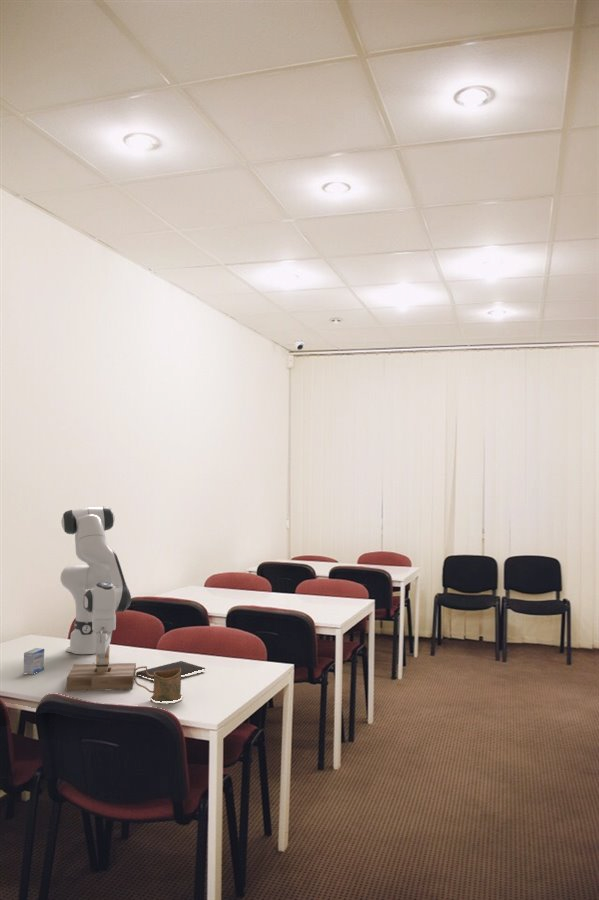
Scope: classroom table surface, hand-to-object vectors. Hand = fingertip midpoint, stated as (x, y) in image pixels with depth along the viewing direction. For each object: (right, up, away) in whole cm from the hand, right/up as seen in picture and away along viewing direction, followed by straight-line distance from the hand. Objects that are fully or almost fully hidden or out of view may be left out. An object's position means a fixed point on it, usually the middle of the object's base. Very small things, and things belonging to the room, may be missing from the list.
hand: (102, 660), depth 269 cm
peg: (0, -7, 0) cm, 7 cm away
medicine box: (-32, -9, +13) cm, 35 cm away
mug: (+25, -9, -18) cm, 32 cm away
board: (0, -9, 0) cm, 9 cm away
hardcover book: (+24, -10, +14) cm, 30 cm away
